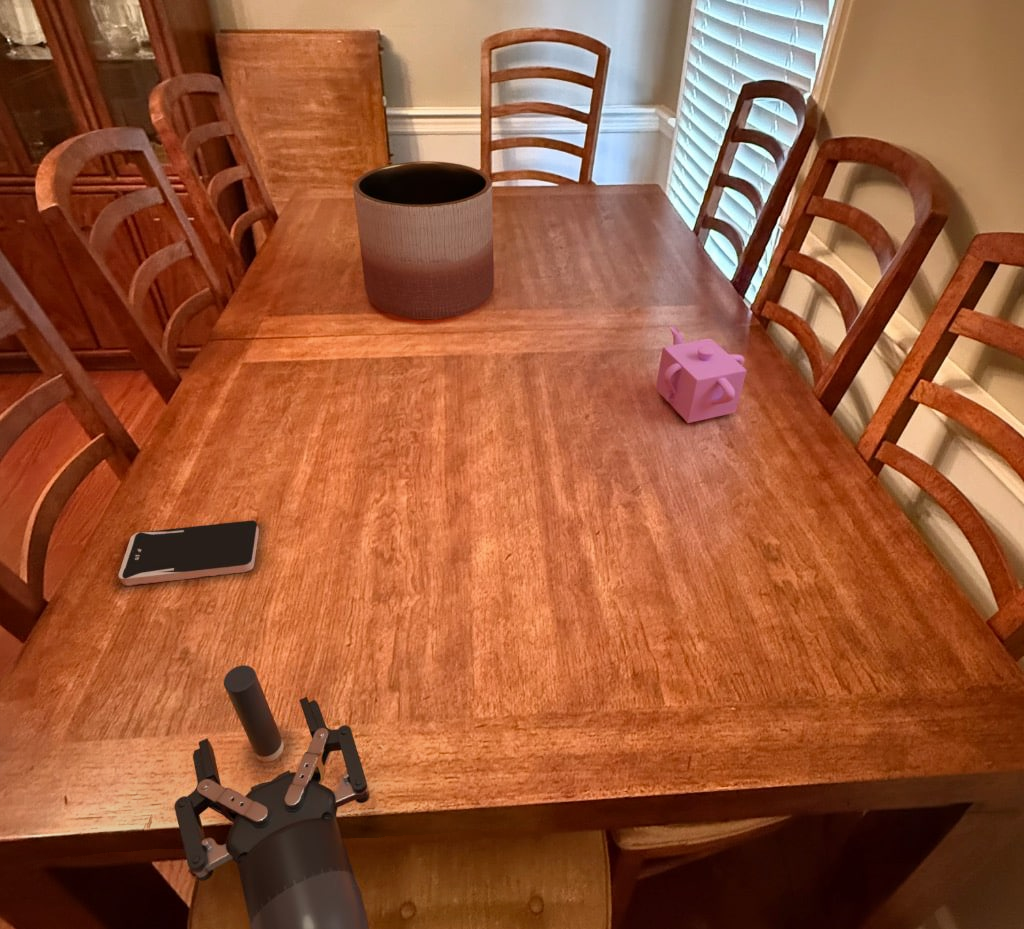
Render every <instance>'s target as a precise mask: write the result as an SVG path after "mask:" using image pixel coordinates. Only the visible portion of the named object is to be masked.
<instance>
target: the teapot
mask: <svg viewBox="0 0 1024 929" xmlns="http://www.w3.org/2000/svg"><path fill="white" fill-rule="evenodd" d="M670 332H671V335H672V338H673V340H672V341H673V342H672V344H671V345H666V346H663V347H662V350H661V356H660V360H659V367H658V373H657V378H656V385H655V389H656V391H658V393H659V394H660V395H661V396H662V397H663V398H664V400H665V401H666V402H668V403H669V404H670V406H671V407H672V408H673V409H674V410H675V411H676V412H677V413H678V414H679V415H680V416H681V418H683V420H684V421H685V422H686V424H690V423H695V422H700V421H703V420H708V419H713V418H717V417H722V416H725V415H726V416H727V415H730V414H734V413H737V410H738V406H739V401H740V398H741V395H742V391H743V386H744V383H745V379H746V376H747V372H748V370H747V369H746V368H745V367H744V364H745V361H746V360H745V357H744V356H743V355H741V354H736V353H735V354H734V353H732V354H729V353H728V352H727V351H726V350H725V349H723V347H721V346H720V345H719V344H718V343H717V342H715V341H714V340H713V339H712V338H710V337H708V338H704V339H699V340H693V341H687V342H684V340H683V336H682V334H681V331H680V330H679V329H678V328H677V327H675V326H670Z"/></svg>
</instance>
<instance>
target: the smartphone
mask: <svg viewBox="0 0 1024 929" xmlns="http://www.w3.org/2000/svg"><path fill="white" fill-rule="evenodd" d="M258 526H259V525H258V523H257V521H255V520H242V521H233V522H224V523H213V524H205V525H196V526H185V527H176V528H167V529H157V530H149V531H140V532H136V533H134V534H132V535H131V537H130V539H129V541H128V545H127V547H126V551H125V553H124V557H123V560H122V562H121V566H120V569H119V572H118V578H119V580H120V582H121V583H122V585H123V586H127V587H129V586H138V585H146V584H154V583H155V584H156V583H163V582H173V581H180V580H188V579H189V580H190V579H197V578H205V577H206V578H207V577H214V576H223V575H231V574H240V573H241V574H242V573H248V572H251V570H253V569H254V567H255V562H256V555H257V549H258V541H259V534H260V530H259V527H258Z"/></svg>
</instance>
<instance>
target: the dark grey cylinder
mask: <svg viewBox="0 0 1024 929" xmlns="http://www.w3.org/2000/svg"><path fill="white" fill-rule="evenodd" d="M223 686H224V689H225V691H226V694H227V695H228V697H229V700H230V702H231V704H232V706H233V708H234V711H235V713H236V715H237V717H238V719H239V722H240V724H241V726H242V728H243V731H244V732H245V734H246V737H247V740H248V741H249V743H250V745H251V748H252V750H253V752H254V755H255V756H256V758H257V760H258V761H260V762H263V763H270V762H272V761H275V760H277V759H278V758H279V757H280V756H281V755H282V753H283V751H284V748H285V743H284V740H283V738H282V735H281V732H280V730H279V727H278V725H277V723H276V720H275V718H274V715H273V713H272V711H271V707H270V705H269V703H268V700H267V697H266V695H265V693H264V690H263V688H262V686H261V682H260V681H259V678H258V675H257V673H256V671H255V669H254V668H253V667H252V666H250V665H238V666H235V667H233V668H232V669H230V670H229V671H228V672H227V673H226V674H225V676H224V679H223Z"/></svg>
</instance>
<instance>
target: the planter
mask: <svg viewBox="0 0 1024 929" xmlns="http://www.w3.org/2000/svg"><path fill="white" fill-rule="evenodd" d="M352 189H353V190H352V191H353V199H354V207H355V214H356V221H357V229H358V238H359V239H358V240H359V247H360V248H359V249H360V257H361V265H362V274H363V282H364V288H365V293H366V296H367V299H368V300H369V302H370V303H371V304H372V305H373V306H374V307H376V308H377V309H379V310H381V311H382V312H384V313H387V314H389V315H392V316H395V317H398V318H403V319H407V320H415V321H438V320H445V319H446V320H447V319H452V318H455V317H459V316H463V315H466V314H469V313H470V312H472V311H474V310H477V309H478V308H480V307H481V306H483V305H484V304H485V303H487V302H488V300H489V299H490V298H491V297H492V294H493V292H494V285H495V265H494V264H495V263H494V262H495V260H494V224H493V222H494V221H493V219H494V218H493V217H494V216H493V182H492V179H491V178H490V175H488V174H487V173H485V172H484V171H482V170H479V169H478V168H474V167H472V166H469V165H465V164H460V163H454V162H446V161H434V160H432V161H429V160H427V161H426V160H425V161H407V162H406V161H405V162H397V163H392V164H387V165H382V166H379V167H376V168H373V169H371V170H368V171H365V172H364V173H362V174H361V175H359V176H358V177H357V178H356V179H355V180H354V182H353V185H352Z"/></svg>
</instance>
